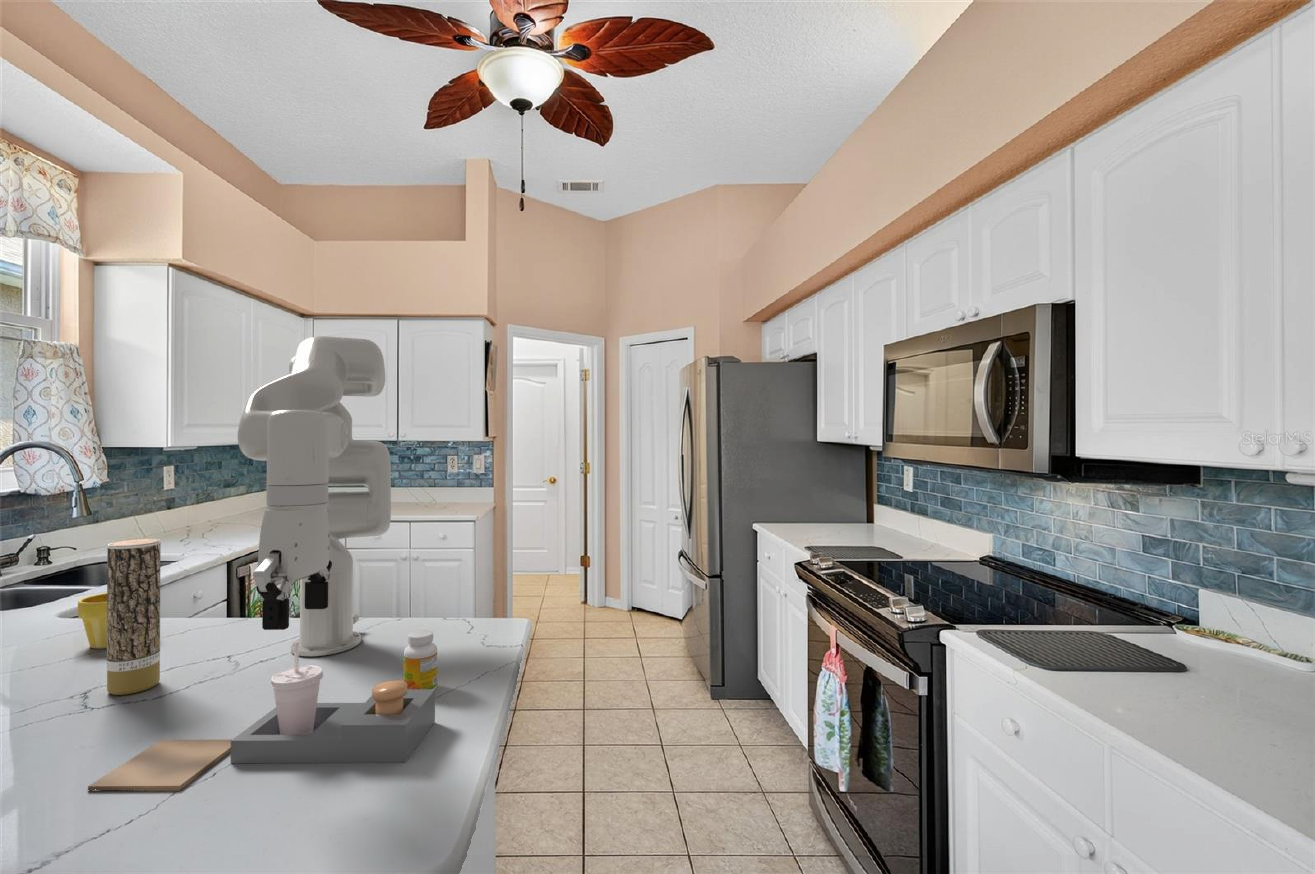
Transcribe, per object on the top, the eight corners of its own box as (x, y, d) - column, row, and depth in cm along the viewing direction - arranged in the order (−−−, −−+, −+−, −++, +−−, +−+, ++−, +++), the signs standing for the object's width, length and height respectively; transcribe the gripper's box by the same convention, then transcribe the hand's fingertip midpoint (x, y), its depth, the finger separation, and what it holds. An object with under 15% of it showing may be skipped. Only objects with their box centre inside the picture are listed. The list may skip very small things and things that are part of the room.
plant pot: (137, 631, 130) (137, 587, 130) (152, 641, 124) (152, 594, 124) (72, 644, 121) (72, 597, 121) (84, 656, 115) (84, 606, 115)
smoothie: (315, 725, 88) (316, 632, 88) (328, 741, 84) (329, 643, 84) (265, 741, 84) (265, 642, 84) (276, 758, 79) (276, 655, 79)
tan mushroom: (380, 728, 86) (380, 680, 86) (412, 728, 87) (412, 680, 86) (365, 744, 82) (365, 694, 82) (398, 744, 82) (399, 694, 82)
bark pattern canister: (170, 679, 104) (170, 538, 104) (137, 696, 98) (138, 545, 98) (130, 679, 104) (131, 538, 104) (95, 697, 97) (95, 545, 97)
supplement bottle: (397, 690, 101) (398, 633, 101) (428, 680, 105) (428, 626, 105) (411, 699, 97) (412, 640, 97) (442, 689, 101) (443, 633, 101)
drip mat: (161, 743, 83) (161, 739, 83) (241, 743, 83) (241, 739, 83) (87, 791, 72) (87, 786, 72) (179, 790, 72) (179, 785, 72)
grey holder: (281, 722, 89) (281, 689, 89) (434, 722, 90) (435, 689, 90) (230, 763, 78) (230, 725, 78) (405, 762, 79) (405, 724, 79)
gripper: (306, 492, 92) (305, 602, 92) (228, 503, 75) (227, 638, 75) (354, 492, 92) (354, 601, 92) (288, 503, 75) (287, 638, 75)
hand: (297, 618), depth 83 cm, fingers open, 9 cm apart
